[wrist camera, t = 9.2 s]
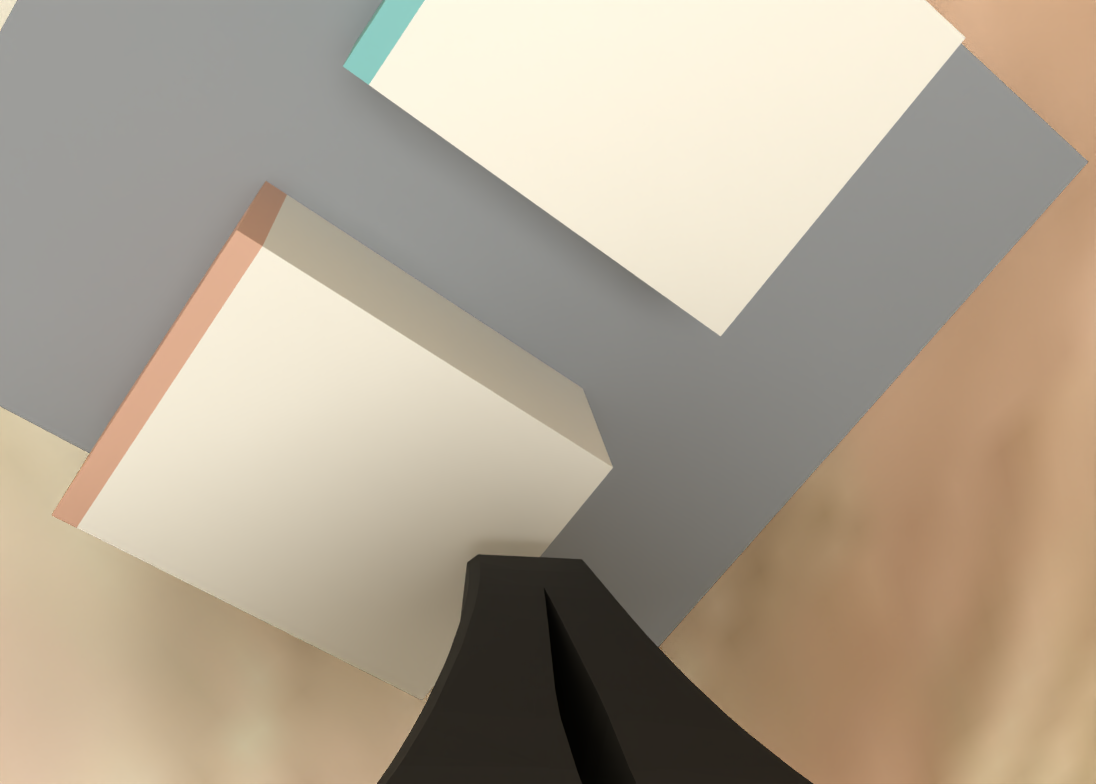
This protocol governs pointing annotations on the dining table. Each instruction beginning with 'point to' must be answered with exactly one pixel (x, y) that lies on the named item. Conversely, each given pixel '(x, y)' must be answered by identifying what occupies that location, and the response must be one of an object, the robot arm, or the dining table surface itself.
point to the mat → (480, 257)
